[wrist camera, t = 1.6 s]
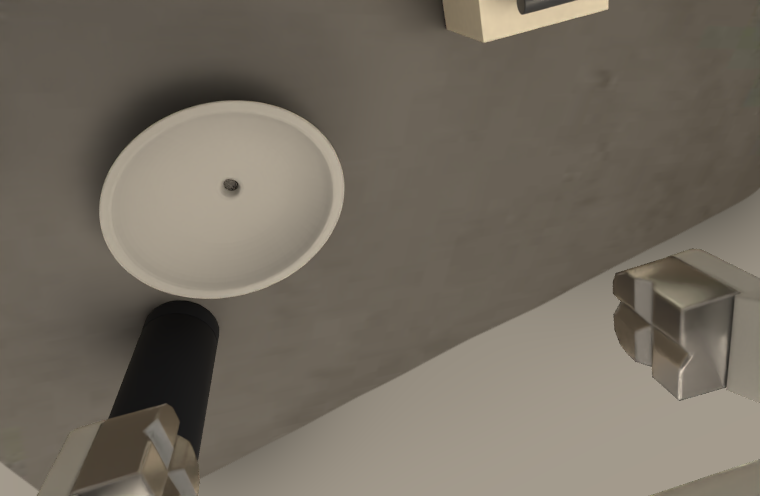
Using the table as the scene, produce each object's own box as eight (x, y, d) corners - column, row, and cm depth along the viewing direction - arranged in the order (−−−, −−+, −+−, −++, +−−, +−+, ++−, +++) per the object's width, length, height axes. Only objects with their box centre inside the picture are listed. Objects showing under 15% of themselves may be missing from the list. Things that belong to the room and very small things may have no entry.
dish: (189, 297, 45) (179, 331, 41) (71, 157, 38) (45, 181, 34) (368, 205, 44) (378, 231, 40) (282, 44, 37) (282, 54, 32)
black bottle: (231, 344, 48) (173, 784, 22) (166, 366, 48) (32, 834, 22) (199, 290, 45) (89, 731, 19) (130, 315, 45) (-76, 789, 19)
